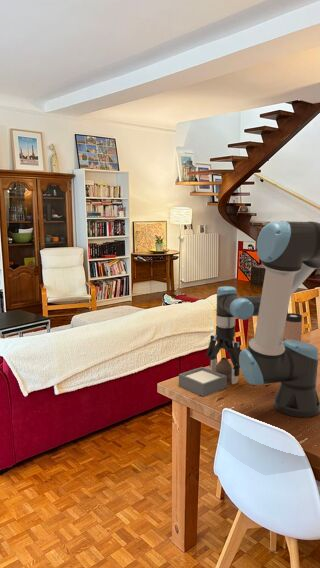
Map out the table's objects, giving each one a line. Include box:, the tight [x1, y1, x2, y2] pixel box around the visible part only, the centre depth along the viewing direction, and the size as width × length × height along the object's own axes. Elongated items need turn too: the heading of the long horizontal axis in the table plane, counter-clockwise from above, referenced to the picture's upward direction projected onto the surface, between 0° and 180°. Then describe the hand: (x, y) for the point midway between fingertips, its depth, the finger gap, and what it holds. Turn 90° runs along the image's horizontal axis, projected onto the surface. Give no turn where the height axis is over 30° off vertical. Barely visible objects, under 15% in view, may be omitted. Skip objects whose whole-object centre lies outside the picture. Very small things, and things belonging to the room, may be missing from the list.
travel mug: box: [283, 312, 303, 341], centre depth 201 cm, size 8×8×20 cm
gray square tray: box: [178, 366, 228, 397], centre depth 167 cm, size 13×13×5 cm
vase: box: [215, 357, 233, 382], centre depth 174 cm, size 7×7×9 cm
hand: (223, 378), depth 175 cm, fingers open, 11 cm apart
